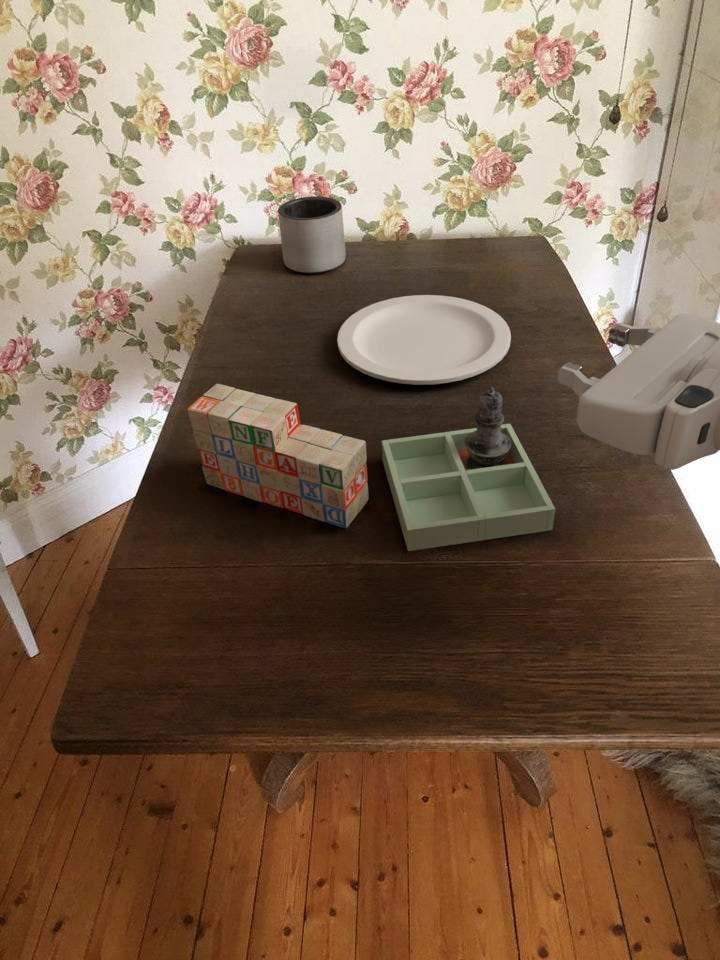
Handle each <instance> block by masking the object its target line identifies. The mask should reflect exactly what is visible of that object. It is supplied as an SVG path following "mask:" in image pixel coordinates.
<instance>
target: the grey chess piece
mask: <svg viewBox="0 0 720 960" xmlns="http://www.w3.org/2000/svg"><path fill="white" fill-rule="evenodd" d="M502 410H503V396H502V395H501V393H499V391H496V390H495V388H494V387H493V386H492V385H491V386H490V387H489V388H488V390H485V391H483V392H482V393H481V394H480V396H479V399H478V412H477V413H476V414H475V416H474V420H475V422H476V428H477V431H474V432H472V433H470V434H469V435H468V436H467V437H466V439H465V446H466V448H467V451H468V453H469V455H470V456H469V457H468V459H467V461H466V466H467V469H468V470H472V469H479V468H486V467H493V466H501V465H507V462H506V460H505V459H504V458H505V456H506V455H507V452H508V451H509V450H510V448H511V440H510V438H509V437H508V436H507V435H506V434H504V433H502V432H501V425H502V424H504V421H505V416H504V415H503V414H502Z"/></svg>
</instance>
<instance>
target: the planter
mask: <svg viewBox="0 0 720 960" xmlns="http://www.w3.org/2000/svg"><path fill="white" fill-rule="evenodd" d="M277 215H278V223H279V233H280V242H281V252H282V259H283V263H284V265H285V267H286V268H288V269H290V270H291V271H293V272H296V273H300V274H306V275H307V274H308V275H315V274H322V273H327V272H330V271H333V270H334V269H336V268H338V267H340V266H341V265H343V264H344V262H345V260H346V259H347V258H346V256H347V253H346V251H347V250H346V241H345V240H346V239H345V227H344V218H343V217H344V216H343V205H342V203H341V202H340V201H339V200H338V199H335V198H332V197H330V196H329V197H328V196H319V195H317V196H316V195H314V196H313V195H311V196H303V197H298V198H294V199H290V200H288V201H286V202H283V203H282V204H280V205H279V207H278V209H277Z"/></svg>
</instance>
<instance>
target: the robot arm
mask: <svg viewBox="0 0 720 960" xmlns="http://www.w3.org/2000/svg"><path fill="white" fill-rule="evenodd" d="M607 340H608V342H609V343H610V344H612V345H616V346H618V347H621V348H624V347H625V346H626V345H631V346H638V347H637V348H636V349H634V350H633V351H632V352H631V353H629V354H628V355H627V356H626V357H625V358H624V359H623V360H621V361H620V362H619V363H618V364H617V365H615V366H614V367H613V368H612V369H611V370H609V371H608V372H607V373H606V374H604V376H602V377H601V378H597V377H595V376H591V377H589V378H588V377H587V376H586V375H584V373H583V366H582V365H579V364H576V363H573V362H572V361H568V362H566V363H565V364H563V365H562V366H561V367H560V368H559V369H558V371H557V382H558V383H559V384H560V385H563V386H566V387H568V388H571V389H572V391H573V392H574V393H575V394H576V396H577V397H578V404H577V410H576V411H577V412H576V424H577V426H578V428H579V430H580V431H581V432H582V433H583V434H584V435H586V436H588V437H589V438H591V439H594V440H596V441H598V442H601V443H603V444H606V445H608V446H611V447H612V448H615V449H618V450H620V451H623V452H625V453H629V454H633V455H635V456H636V455H637V456H650V455H653V454H654V463H655V464H656V465H657V466H659V467H661V468H664V469H666V470H671V471H674V470H678V469H680V468H682V467H684V466H686V465H688V464H690V463H693V462H695V461H697V460H700V459H702V458H706V457H708V456H712V455H715V454H717V453H718V452H719V451H720V322H717V321H715V320H712V319H709V318H707V317H704V316H701V315H698V314H694V313H679V314H677V315H675V316H674V317H673V318H672V319H670V321H668V322H667V323H666V324H665V325H663V326H662V327H659V326H656V325H630V324H629V325H628V324H626V323H623V322H618V323H616V324H615V325H614V326H612V327H611V328H610V329H609V331H608V337H607Z"/></svg>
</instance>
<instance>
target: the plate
mask: <svg viewBox="0 0 720 960" xmlns="http://www.w3.org/2000/svg"><path fill="white" fill-rule="evenodd" d="M511 340H512V335H511V329H510V327H509V325H508V323H507V322H506V320H505V319H504V318H503V317H502V316H501V315H500V314H498V313H497V312H496V311H495V310H493V309H491V308H489V307H487V306H485V305H483V304H480V303H478V302H475V301H473V300H469V299H465V298H461V297H455V296H448V295H437V294H416V295H415V294H414V295H406V296H404V295H403V296H399V297H392V298H388V299H384V300H381V301H377V302H375V303H372V304H369V305H367V306H365V307H362V308H361V309H359V310H358V311H356V312H354V313H353V314H351V315H350V316H349V317H348V318H347V319H346V320H344V322H343V324H342V325H341V326H340V328H339V330H338V333H337V338H336V342H337V347H338V351H339V354H340V355H341V357H342V358H343V359H344V361H345V362H346V363H347V364H348V365H350V367H352V368H353V369H355V370H357V371H358V372H360V373H362V374H364V375H367V376H369V377H372V378H375V379H378V380H381V381H385V382H390V383H395V384H396V383H397V384H402V385H415V386H416V385H419V386H421V385H440V384H448V383H453V382H458V381H463V380H466V379H469V378H472V377H475V376H478V375H480V374H482V373H484V372H486V371H488V370H490V369H492V368H493V367H495V366H496V365H497V364H499V363H500V362H501V361H502V360H503V359H504V357H505V356H507V354H508V352H509V349H510V347H511V342H512V341H511Z"/></svg>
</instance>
